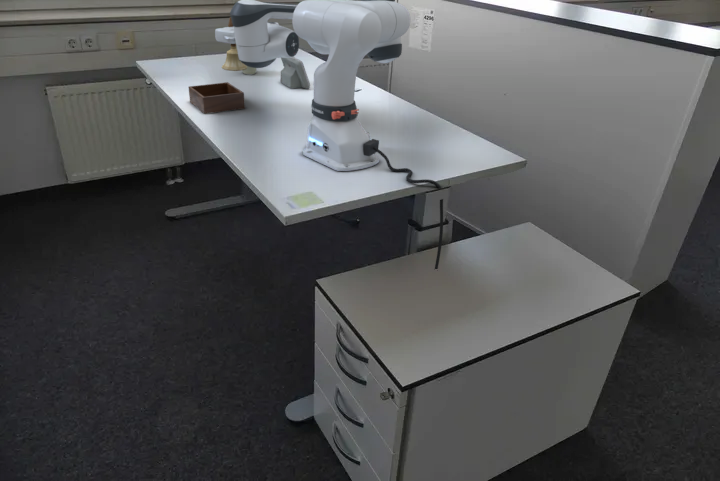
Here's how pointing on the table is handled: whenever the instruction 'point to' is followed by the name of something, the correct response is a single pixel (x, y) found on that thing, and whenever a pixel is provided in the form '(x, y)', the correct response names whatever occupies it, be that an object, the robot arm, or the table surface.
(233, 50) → the hand bell
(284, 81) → the digital clock
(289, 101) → the table surface
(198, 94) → the crate
